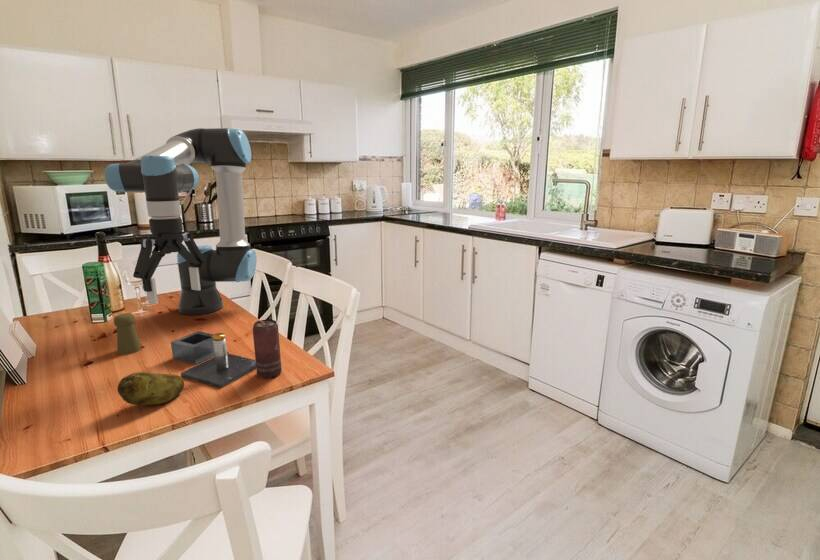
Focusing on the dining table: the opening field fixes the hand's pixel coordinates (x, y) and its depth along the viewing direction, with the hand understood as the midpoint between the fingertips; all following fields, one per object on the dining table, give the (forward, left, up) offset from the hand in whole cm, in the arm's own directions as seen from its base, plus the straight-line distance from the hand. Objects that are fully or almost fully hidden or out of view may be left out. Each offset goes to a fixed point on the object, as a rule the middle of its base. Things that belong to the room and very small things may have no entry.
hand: (175, 296), depth 119 cm
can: (-3, +28, -18) cm, 34 cm away
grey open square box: (-3, +2, -18) cm, 18 cm away
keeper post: (+1, +16, -18) cm, 24 cm away
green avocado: (+20, +15, -18) cm, 31 cm away
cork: (+3, -19, -18) cm, 26 cm away
